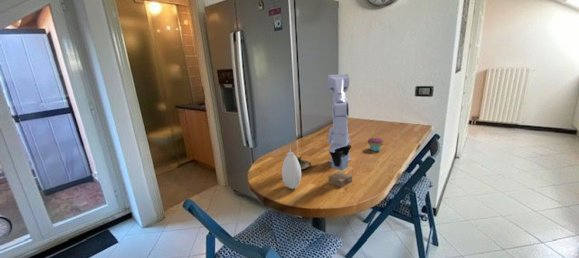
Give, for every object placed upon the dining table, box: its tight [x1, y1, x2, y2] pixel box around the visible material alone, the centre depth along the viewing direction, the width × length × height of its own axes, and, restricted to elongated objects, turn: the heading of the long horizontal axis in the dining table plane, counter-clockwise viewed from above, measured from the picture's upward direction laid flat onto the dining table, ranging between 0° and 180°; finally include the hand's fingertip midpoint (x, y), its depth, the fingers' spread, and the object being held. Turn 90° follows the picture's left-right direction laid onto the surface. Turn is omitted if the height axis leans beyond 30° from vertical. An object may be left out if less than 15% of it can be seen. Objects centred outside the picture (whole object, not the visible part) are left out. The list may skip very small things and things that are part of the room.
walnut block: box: [328, 170, 353, 188], centre depth 107 cm, size 7×7×3 cm
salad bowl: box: [294, 152, 312, 171], centre depth 124 cm, size 12×12×8 cm
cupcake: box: [367, 129, 385, 152], centre depth 143 cm, size 9×8×12 cm
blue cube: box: [330, 154, 349, 172], centre depth 105 cm, size 5×5×5 cm
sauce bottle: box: [281, 146, 302, 190], centre depth 102 cm, size 8×8×18 cm
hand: (340, 163), depth 105 cm, fingers closed on blue cube, 5 cm apart
